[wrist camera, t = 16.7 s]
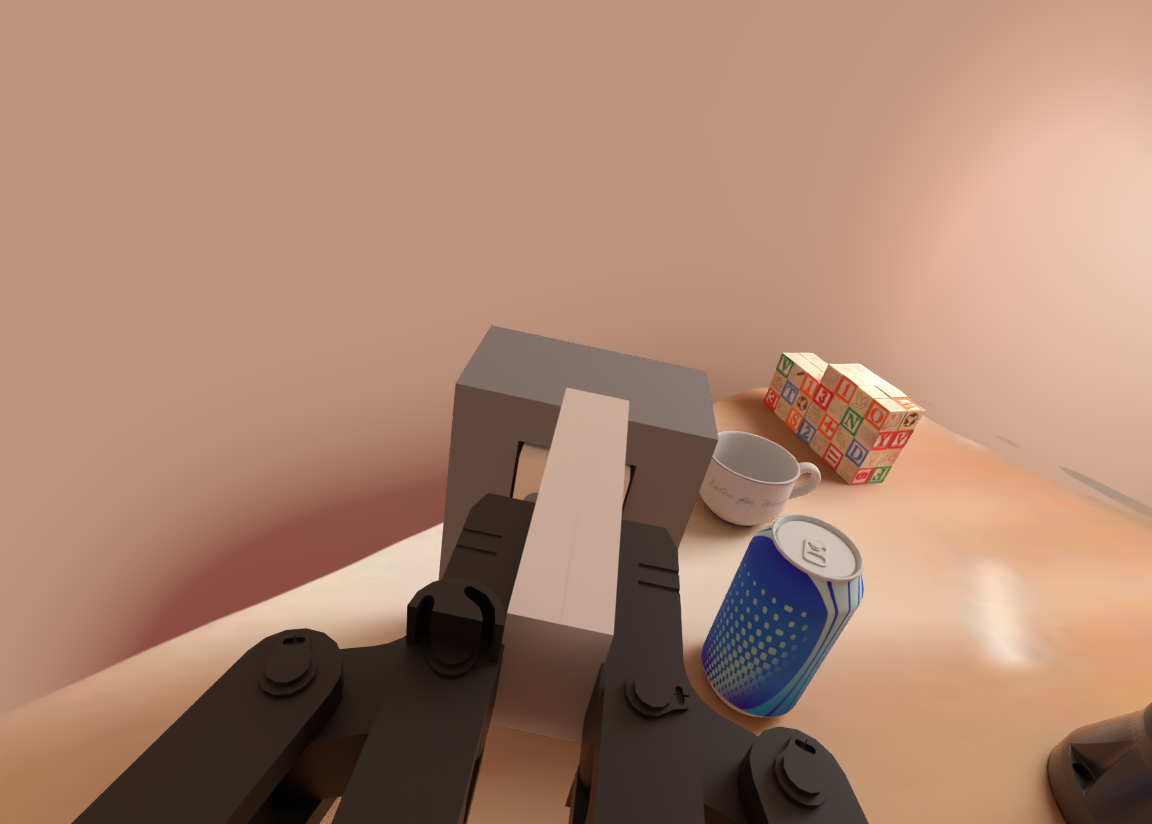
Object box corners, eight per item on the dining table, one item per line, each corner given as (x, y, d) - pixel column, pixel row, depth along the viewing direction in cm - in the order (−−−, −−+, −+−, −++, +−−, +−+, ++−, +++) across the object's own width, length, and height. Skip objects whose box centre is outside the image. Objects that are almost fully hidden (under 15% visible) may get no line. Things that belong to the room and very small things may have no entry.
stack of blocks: (761, 402, 96) (788, 334, 90) (791, 401, 99) (820, 335, 92) (850, 486, 80) (891, 410, 73) (884, 483, 82) (927, 409, 76)
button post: (610, 730, 45) (718, 439, 31) (429, 691, 45) (455, 383, 31) (615, 641, 51) (706, 371, 38) (458, 607, 51) (491, 325, 38)
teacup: (687, 524, 67) (708, 468, 63) (689, 469, 76) (707, 417, 72) (809, 556, 66) (838, 502, 62) (796, 497, 75) (821, 446, 71)
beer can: (677, 653, 52) (736, 517, 43) (747, 626, 56) (813, 496, 47) (741, 743, 46) (823, 604, 37) (814, 705, 50) (902, 572, 41)
